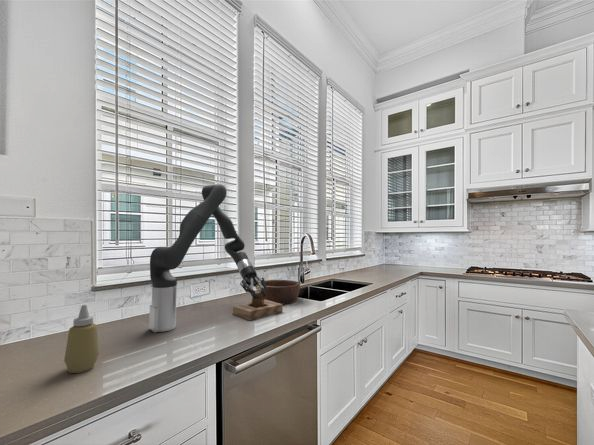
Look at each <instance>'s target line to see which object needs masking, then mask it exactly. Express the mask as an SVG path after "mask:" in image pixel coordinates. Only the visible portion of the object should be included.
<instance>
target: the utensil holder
mask: <svg viewBox="0 0 594 445" xmlns="http://www.w3.org/2000/svg"><path fill="white" fill-rule="evenodd" d="M255 289H256V292H255V293H256V295H257V297H256V299H254V298H253V297H252V299H251V302H252V307H255V308H259V307H263V306H264V298H263V294H262V293H261V292H260V293H259V292H258V289H259V284H257V285H256V287H255Z"/></svg>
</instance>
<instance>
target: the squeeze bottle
mask: <svg viewBox="0 0 594 445" xmlns="http://www.w3.org/2000/svg"><path fill="white" fill-rule="evenodd" d="M80 306H81V307H80V310H79V313H78V317H75V318H73V325H72V326H71V327H70V328H69V330H68V335H67V341H66V348H65V354H64V359H63V360H64V364H65V366H66V368H67V371H68V372H69V373H72V374H79V373H84V372H86V371H89V370H91V369H93V368H94V367H95V364H96V363H97V359H98V357H99V355H100V350H99V338H98V324H96V323H94V316H92V315H90V314H89V309H88V306H87V304H82V305H80Z"/></svg>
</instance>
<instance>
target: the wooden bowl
mask: <svg viewBox="0 0 594 445" xmlns="http://www.w3.org/2000/svg"><path fill="white" fill-rule="evenodd" d="M265 284H266V287H265V289H264V290H265V292H266V296H265V297H263V298H264V300H269V301H272V302H276V303H280V304H283V305H285V304H286V305H287V304H291V303H294V302H295V301H296V300H297V299H298V297H299V294H300V290H301V289H300V287H301V283H300V282H299V281H296V280H292V279H291V280H289V279H269V280H265ZM260 288H261V287H260ZM258 293H260V290H259V289H258Z"/></svg>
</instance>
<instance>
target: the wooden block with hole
mask: <svg viewBox="0 0 594 445" xmlns="http://www.w3.org/2000/svg"><path fill="white" fill-rule="evenodd" d="M283 305H284V304H280V303H276V302H272V301H269V300H264V306H263V307H259V308H255V307H252V301H250V302H247V303H246V302H245V303H239V304H236V305H232V315H233V316H236V317H238V318H242V319H245V320H247V321H253V320H257V319H261V318H265V317H269V316H270V317H271V316H274V315H277V314H278V315H279V314H281V313H283V311H284V310H283Z"/></svg>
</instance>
